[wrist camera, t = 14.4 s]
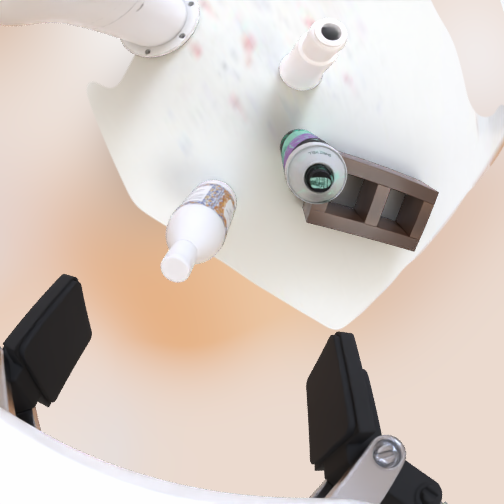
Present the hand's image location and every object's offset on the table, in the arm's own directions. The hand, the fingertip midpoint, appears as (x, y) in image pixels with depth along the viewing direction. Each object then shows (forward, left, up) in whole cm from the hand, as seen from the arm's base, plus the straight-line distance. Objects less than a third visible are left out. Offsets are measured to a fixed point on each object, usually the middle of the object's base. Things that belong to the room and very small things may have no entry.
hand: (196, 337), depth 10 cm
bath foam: (+8, -5, -35) cm, 36 cm away
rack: (+1, +17, -35) cm, 39 cm away
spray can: (-3, +6, -35) cm, 35 cm away
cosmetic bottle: (-14, +3, -35) cm, 38 cm away
